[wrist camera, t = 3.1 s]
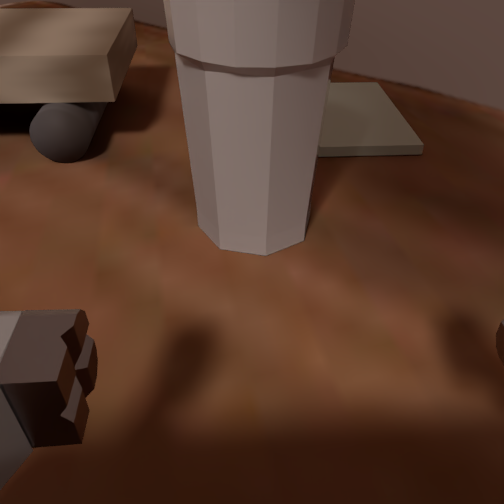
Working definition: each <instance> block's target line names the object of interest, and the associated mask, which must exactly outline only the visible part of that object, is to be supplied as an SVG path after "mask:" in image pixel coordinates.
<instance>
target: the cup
mask: <svg viewBox="0 0 504 504" xmlns="http://www.w3.org/2000/svg"><path fill="white" fill-rule="evenodd" d="M163 2H164V9H165V15H166V22H167V30H168V37H169V43H170V45H171V47H172V48H173V50H174V52H175V58H176V65H177V72H178V79H179V86H180V93H181V100H182V107H183V114H184V121H185V128H186V135H187V142H188V149H189V156H190V163H191V170H192V177H193V184H194V191H195V198H196V205H197V215H198V226H199V227H200V228H201V229H202V230H203V231H204V232H205V233H206V235H207V236H208V237H209V238H210V239H211V240H212V241H213V242H214V243H215V244H216V245H217V246H218V248H219V249H223V250H230V251H237V252H243V253H250V254H257V255H263V256H267V255H269V254H272V253H274V252H277V251H279V250H282V249H284V248H287V247H289V246H292V245H294V244H297V243H299V242H302V241H304V238H305V234H306V230H307V225H308V221H309V217H310V209H311V199H312V193H313V187H314V180H315V174H316V168H317V162H318V156H319V150H320V144H321V137H322V131H323V125H324V119H325V113H326V107H327V100H328V94H329V88H330V82H331V76H332V70H333V63H334V57H335V56H336V55H337V53H339V52H340V51H341V50H342V49H344V48H345V47H346V46H347V44H348V38H349V32H350V26H351V21H352V15H353V9H354V4H355V0H163Z"/></svg>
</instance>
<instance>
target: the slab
mask: <svg viewBox="0 0 504 504" xmlns="http://www.w3.org/2000/svg"><path fill="white" fill-rule="evenodd" d="M136 48H137V40H136V32H135V25H134V17H133V10H132V8H21V9H0V104H8V103H44V104H43V106H42V107H41V109H40V110H39V112H38V113H37V114H36V116H35V117H34V119H33V120H32V122H31V124H30V130H29V132H30V138H31V141H32V143H33V145H34V146H35V148H36V149H37V150H38V151H39V152H40V153H41V154H42V155H44V156H45V157H47V158H49V159H51V160H53V161H56V162H61V163H69V162H74V161H76V160H78V159H80V158H81V157H83V156H84V154H85V153H86V151H87V149H88V147H89V145H90V142H91V140H92V138H93V135H94V133H95V131H96V128H97V126H98V124H99V121H100V119H101V117H102V114H103V112H104V110H105V107H106V105H107V103H108V102H115V100H116V98H117V95H118V93H119V90H120V88H121V85H122V83H123V80H124V78H125V75H126V73H127V70H128V68H129V65H130V63H131V60H132V58H133V55H134V53H135V50H136Z"/></svg>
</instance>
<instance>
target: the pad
mask: <svg viewBox="0 0 504 504" xmlns="http://www.w3.org/2000/svg"><path fill="white" fill-rule="evenodd" d="M423 147H424V144H423V143H422V141H421V140H420V139H419V137H418V136H417V135H416V133H415V132H414V131H413V129H412V128H411V127H410V125H409V124H408V123H407V121H406V120H405V119H404V117H403V116H402V115H401V113H400V112H399V111H398V109H397V108H396V107H395V105H394V104H393V103H392V101H391V100H390V99H389V97H388V96H387V95H386V93H385V92H384V91H383V89H382V88H381V87H380V85H379V84H378V83H377V82H350V83H330V88H329V94H328V100H327V107H326V113H325V119H324V125H323V131H322V137H321V144H320V150H319V156H318V157H332V156H375V155H418V154H422V151H423Z"/></svg>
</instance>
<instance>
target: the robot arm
mask: <svg viewBox="0 0 504 504" xmlns="http://www.w3.org/2000/svg"><path fill="white" fill-rule="evenodd" d="M88 326H89V322H88V319H87V316H86V313H85V311H84V310H81V309H71V310H26V311H0V490H1V489H2V487H3V486H4V485H5V484H6V483H7V481H8V480H9V479H10V478H11V477H12V475H13V474H14V473H15V472H16V471H17V470H18V468H19V467H20V466H21V465H22V464H23V462H24V461H25V460H26V459H27V458H28V456H29V455H30V454H31V453H32V452H33V449H32V448H37V447H49V446H61V445H73V444H82V441H83V437H84V433H85V428H86V424H87V419H88V415H89V411H90V410H89V407H88V404H87V401H86V397H87V396H88V395H89V394H90V393H91V392H92V391H93V390H94V388H95V383H96V378H97V366H98V358H97V349H96V345H95V342H94V339H92V338H91V337H89V336H88V335H87V330H88ZM496 348H497V351H498V355H499V358H500V359H501V361H502V363H503V365H504V320H503V321H501V323H500V325H499V328H498V330H497V333H496Z"/></svg>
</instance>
